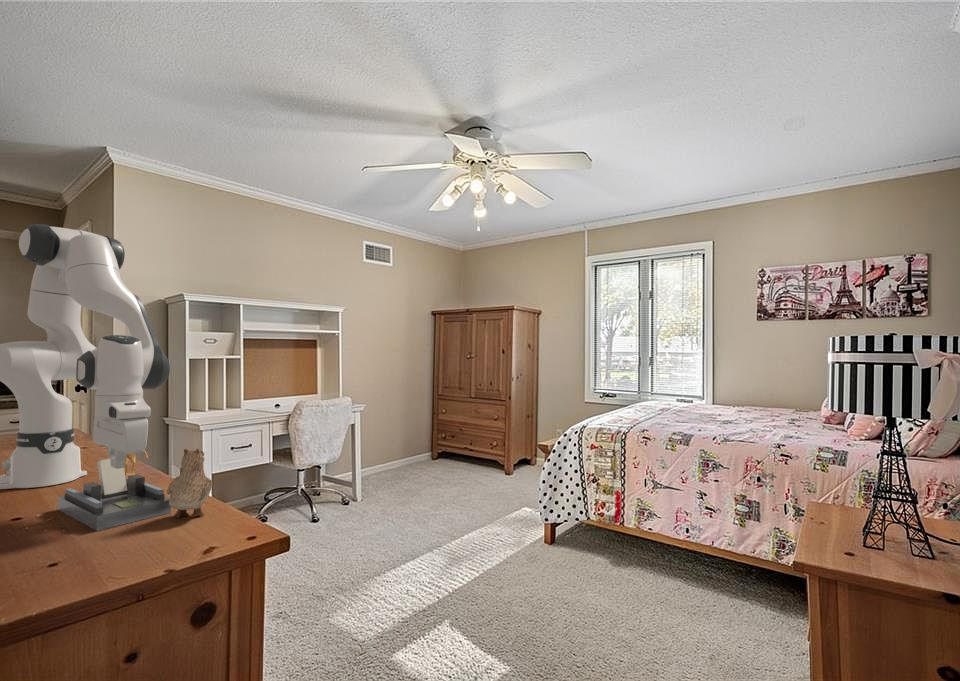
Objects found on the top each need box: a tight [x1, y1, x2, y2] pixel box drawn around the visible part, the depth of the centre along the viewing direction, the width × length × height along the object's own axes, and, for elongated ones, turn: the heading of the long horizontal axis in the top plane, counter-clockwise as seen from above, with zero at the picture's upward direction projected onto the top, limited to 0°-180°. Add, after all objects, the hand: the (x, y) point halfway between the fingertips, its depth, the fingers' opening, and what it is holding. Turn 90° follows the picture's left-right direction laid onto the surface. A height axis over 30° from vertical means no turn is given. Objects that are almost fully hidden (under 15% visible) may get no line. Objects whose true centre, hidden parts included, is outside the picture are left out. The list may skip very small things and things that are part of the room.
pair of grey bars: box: [64, 478, 165, 513], centre depth 112 cm, size 19×13×2 cm
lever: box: [96, 458, 128, 499], centre depth 113 cm, size 2×5×9 cm, turn 146°
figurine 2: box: [166, 448, 213, 519], centre depth 109 cm, size 9×10×15 cm
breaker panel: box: [57, 473, 172, 532], centre depth 112 cm, size 23×14×7 cm, turn 56°
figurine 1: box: [124, 449, 149, 478], centre depth 131 cm, size 8×6×12 cm
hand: (117, 467), depth 112 cm, fingers closed
